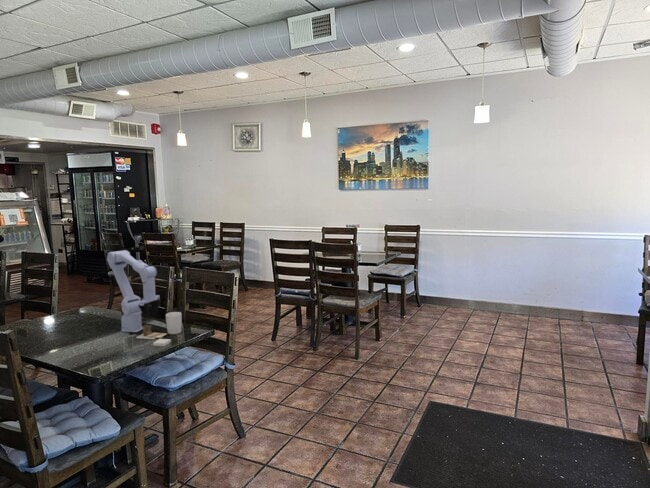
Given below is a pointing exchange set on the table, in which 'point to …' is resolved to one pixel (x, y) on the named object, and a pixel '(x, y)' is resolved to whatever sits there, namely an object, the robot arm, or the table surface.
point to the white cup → (174, 322)
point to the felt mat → (143, 337)
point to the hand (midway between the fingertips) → (150, 315)
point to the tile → (161, 342)
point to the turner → (151, 335)
